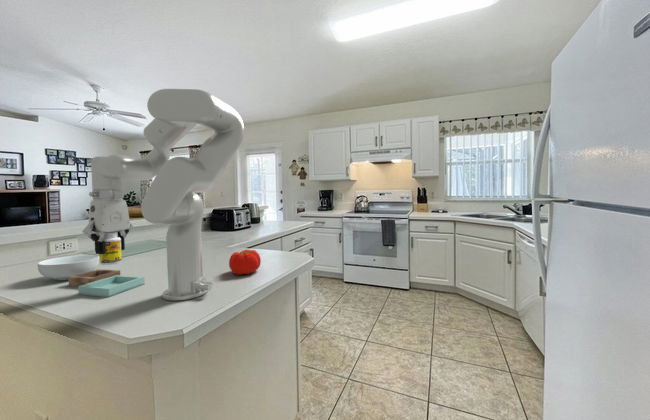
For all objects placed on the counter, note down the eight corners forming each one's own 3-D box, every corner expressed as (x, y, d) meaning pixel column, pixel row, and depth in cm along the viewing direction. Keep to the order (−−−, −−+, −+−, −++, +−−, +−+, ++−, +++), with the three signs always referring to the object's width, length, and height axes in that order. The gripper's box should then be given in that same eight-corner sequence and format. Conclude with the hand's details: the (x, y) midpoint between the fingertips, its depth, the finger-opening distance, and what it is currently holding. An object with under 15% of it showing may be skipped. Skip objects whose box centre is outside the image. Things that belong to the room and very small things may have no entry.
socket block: (120, 278, 99) (120, 270, 99) (91, 287, 89) (91, 278, 89) (99, 277, 101) (98, 269, 101) (68, 285, 91) (68, 277, 91)
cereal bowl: (70, 284, 93) (69, 264, 93) (24, 284, 93) (22, 264, 93) (110, 270, 110) (110, 253, 110) (71, 271, 110) (70, 254, 110)
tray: (144, 284, 92) (144, 277, 92) (109, 297, 80) (108, 288, 80) (116, 282, 94) (116, 275, 94) (78, 294, 83) (78, 286, 83)
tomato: (243, 267, 113) (243, 247, 112) (267, 270, 107) (266, 249, 107) (219, 275, 101) (219, 253, 101) (244, 279, 96) (244, 255, 95)
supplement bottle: (98, 266, 83) (97, 233, 82) (101, 262, 88) (99, 231, 87) (121, 263, 86) (119, 232, 85) (122, 260, 91) (121, 230, 90)
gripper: (88, 195, 76) (91, 258, 77) (141, 195, 93) (143, 247, 94) (68, 196, 78) (71, 257, 79) (124, 196, 95) (126, 246, 96)
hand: (110, 251), depth 87 cm, fingers closed on supplement bottle, 5 cm apart
